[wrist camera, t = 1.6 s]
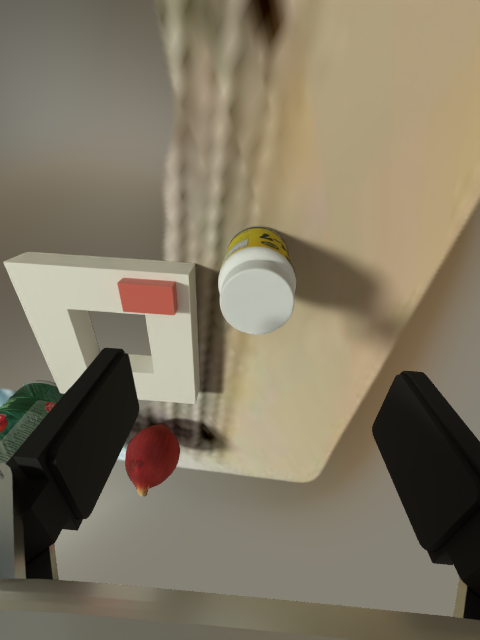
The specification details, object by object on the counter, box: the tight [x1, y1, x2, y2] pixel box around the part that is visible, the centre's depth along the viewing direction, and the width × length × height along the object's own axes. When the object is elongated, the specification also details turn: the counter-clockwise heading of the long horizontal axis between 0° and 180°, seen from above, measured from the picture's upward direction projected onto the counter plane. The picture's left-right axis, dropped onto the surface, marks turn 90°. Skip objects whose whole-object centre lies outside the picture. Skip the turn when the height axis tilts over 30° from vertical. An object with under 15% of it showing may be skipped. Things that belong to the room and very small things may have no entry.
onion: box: [125, 424, 180, 496], centre depth 30 cm, size 6×6×8 cm
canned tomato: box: [0, 380, 64, 464], centre depth 27 cm, size 8×8×11 cm
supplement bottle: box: [218, 226, 296, 335], centre depth 18 cm, size 5×5×8 cm
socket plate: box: [3, 252, 200, 404], centre depth 24 cm, size 14×14×4 cm
